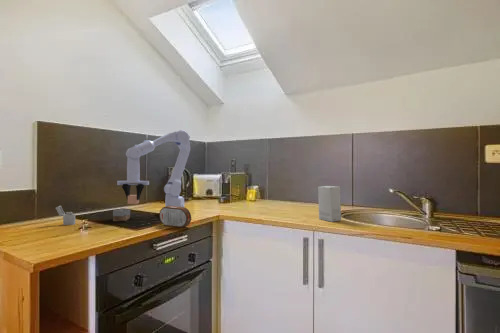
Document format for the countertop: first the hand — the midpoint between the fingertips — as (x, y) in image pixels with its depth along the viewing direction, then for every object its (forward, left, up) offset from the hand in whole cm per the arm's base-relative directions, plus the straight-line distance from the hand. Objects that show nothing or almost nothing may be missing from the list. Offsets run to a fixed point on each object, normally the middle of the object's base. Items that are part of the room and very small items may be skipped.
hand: (133, 199), depth 133 cm
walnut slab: (+2, +7, -9) cm, 11 cm away
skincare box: (-94, 0, -9) cm, 94 cm away
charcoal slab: (+2, +7, -6) cm, 9 cm away
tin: (-27, +18, -9) cm, 34 cm away
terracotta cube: (0, 0, -2) cm, 2 cm away
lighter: (+21, +18, -9) cm, 29 cm away
